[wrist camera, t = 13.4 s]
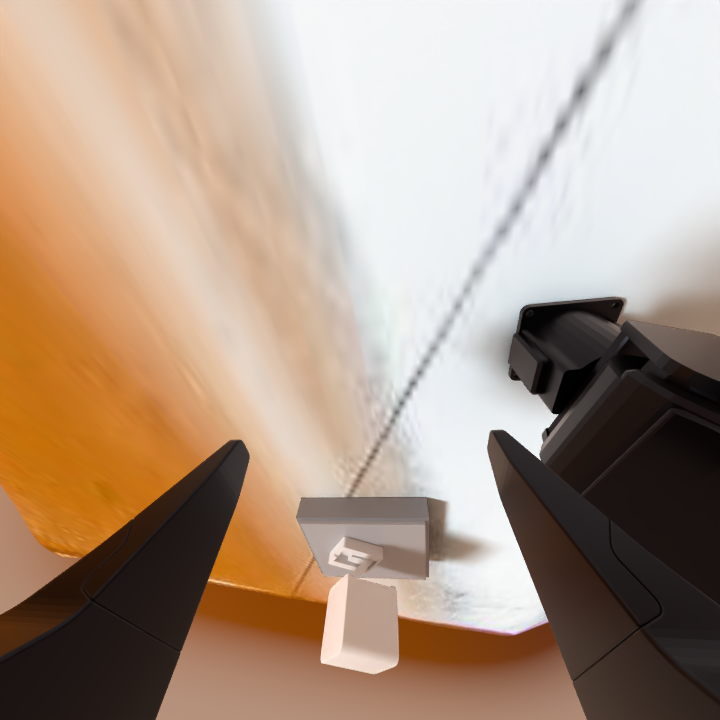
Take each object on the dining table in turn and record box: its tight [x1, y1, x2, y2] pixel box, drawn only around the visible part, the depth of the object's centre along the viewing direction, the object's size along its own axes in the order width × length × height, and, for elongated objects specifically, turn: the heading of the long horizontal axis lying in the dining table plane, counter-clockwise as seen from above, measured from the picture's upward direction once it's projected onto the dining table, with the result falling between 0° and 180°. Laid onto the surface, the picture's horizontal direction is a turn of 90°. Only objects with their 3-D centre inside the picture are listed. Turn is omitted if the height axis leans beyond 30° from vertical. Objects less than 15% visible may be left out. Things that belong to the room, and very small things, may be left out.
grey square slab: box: [296, 497, 429, 580], centre depth 37 cm, size 16×16×3 cm
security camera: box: [321, 537, 399, 674], centre depth 31 cm, size 6×7×10 cm
